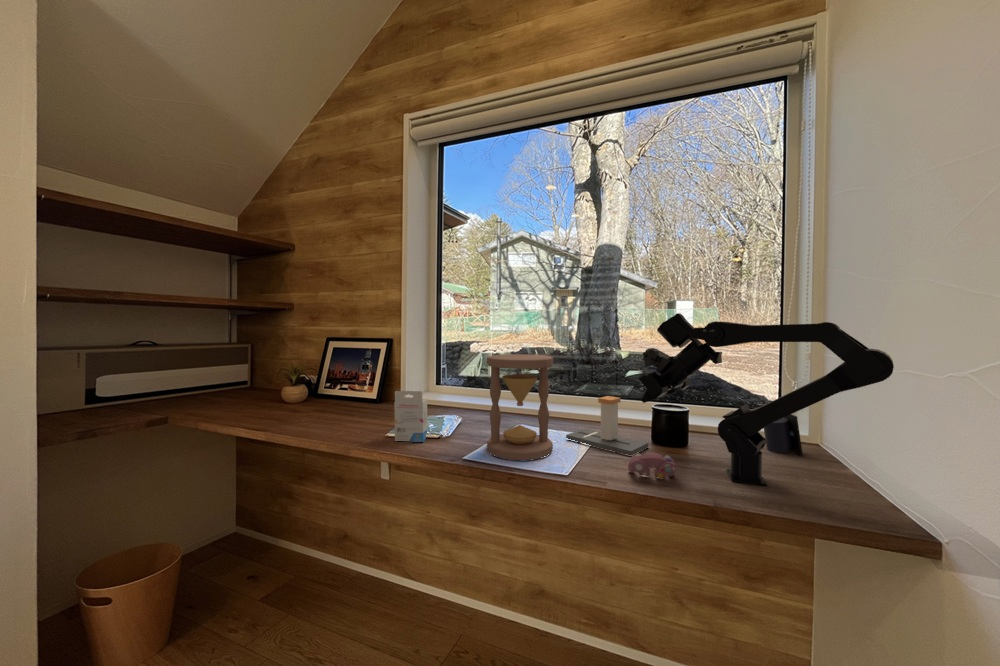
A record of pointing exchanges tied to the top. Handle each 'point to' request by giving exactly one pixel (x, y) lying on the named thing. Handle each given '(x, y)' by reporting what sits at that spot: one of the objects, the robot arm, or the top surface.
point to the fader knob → (609, 417)
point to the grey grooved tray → (608, 441)
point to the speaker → (784, 436)
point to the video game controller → (652, 464)
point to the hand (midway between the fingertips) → (642, 401)
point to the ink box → (410, 416)
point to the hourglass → (519, 439)
